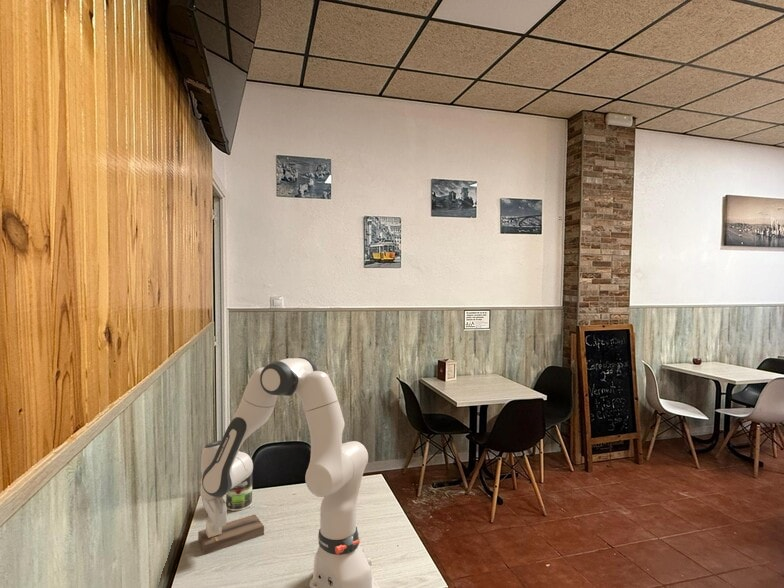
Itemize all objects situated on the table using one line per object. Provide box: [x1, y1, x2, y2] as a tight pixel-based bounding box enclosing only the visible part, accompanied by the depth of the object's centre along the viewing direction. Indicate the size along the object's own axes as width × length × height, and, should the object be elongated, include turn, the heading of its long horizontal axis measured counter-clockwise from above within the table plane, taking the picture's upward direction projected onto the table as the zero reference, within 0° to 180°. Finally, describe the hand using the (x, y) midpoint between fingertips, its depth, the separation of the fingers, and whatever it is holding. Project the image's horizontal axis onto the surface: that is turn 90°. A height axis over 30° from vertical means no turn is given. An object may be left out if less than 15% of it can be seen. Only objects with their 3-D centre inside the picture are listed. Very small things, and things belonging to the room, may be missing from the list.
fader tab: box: [205, 517, 222, 538], centre depth 144 cm, size 4×4×5 cm
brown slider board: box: [197, 514, 265, 555], centre depth 147 cm, size 10×20×3 cm, turn 126°
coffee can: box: [225, 473, 253, 512], centre depth 170 cm, size 10×10×14 cm
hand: (213, 528), depth 144 cm, fingers closed on fader tab, 3 cm apart
